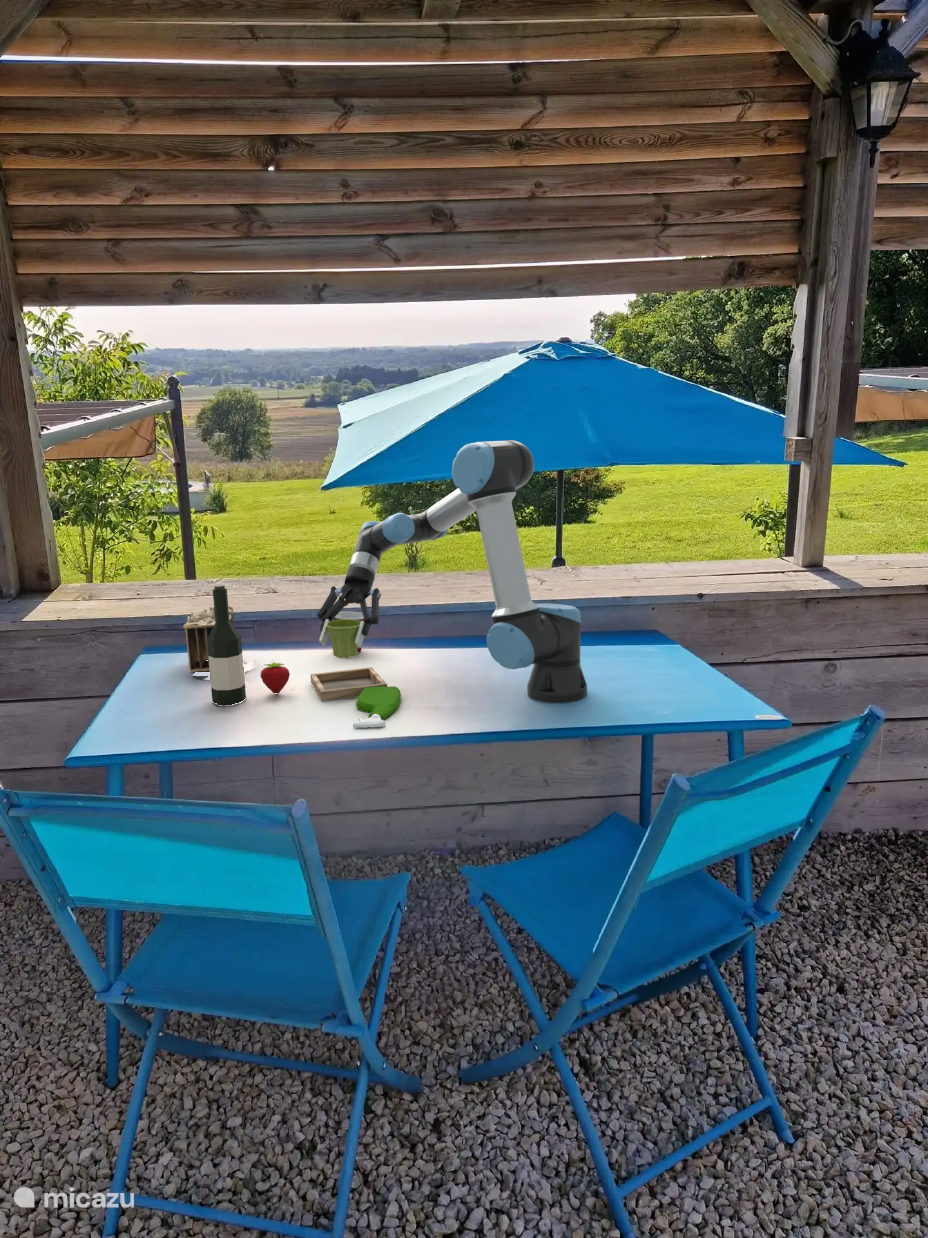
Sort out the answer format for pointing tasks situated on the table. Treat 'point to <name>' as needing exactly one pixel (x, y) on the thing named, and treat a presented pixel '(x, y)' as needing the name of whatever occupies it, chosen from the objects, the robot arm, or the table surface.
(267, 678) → the strawberry
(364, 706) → the spray bottle
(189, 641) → the wooden crate with straw
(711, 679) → the table surface
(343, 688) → the square wooden tray
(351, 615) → the plastic cup
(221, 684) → the wine bottle
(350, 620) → the plant pot
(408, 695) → the table surface
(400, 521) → the robot arm
